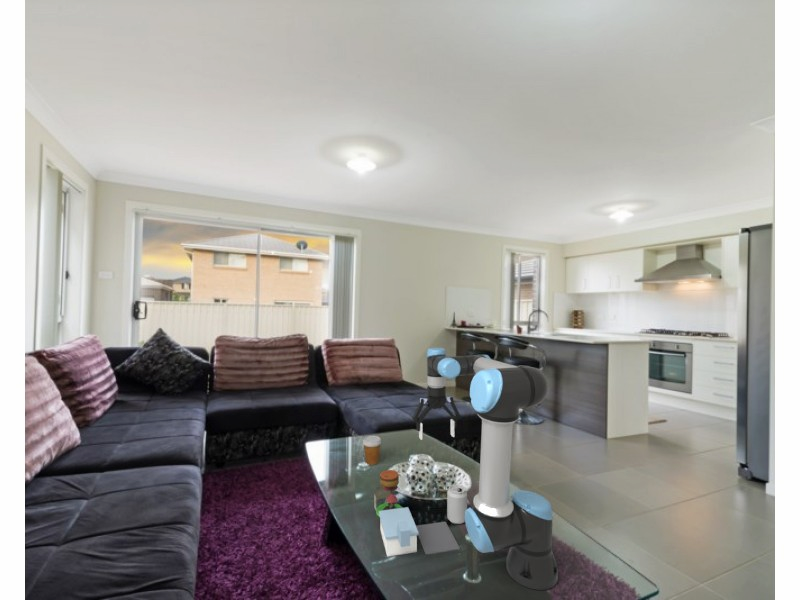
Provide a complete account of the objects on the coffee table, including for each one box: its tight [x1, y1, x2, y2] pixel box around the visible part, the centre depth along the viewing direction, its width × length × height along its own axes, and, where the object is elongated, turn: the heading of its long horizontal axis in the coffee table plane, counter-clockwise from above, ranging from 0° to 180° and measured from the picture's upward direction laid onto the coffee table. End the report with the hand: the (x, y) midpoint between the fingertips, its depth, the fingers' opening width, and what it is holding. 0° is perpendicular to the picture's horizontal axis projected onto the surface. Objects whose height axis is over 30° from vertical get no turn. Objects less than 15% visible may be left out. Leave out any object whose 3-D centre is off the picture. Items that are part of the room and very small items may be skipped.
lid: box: [378, 506, 419, 547], centre depth 129 cm, size 20×11×5 cm, turn 12°
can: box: [446, 484, 468, 525], centre depth 144 cm, size 8×8×12 cm
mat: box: [416, 521, 461, 556], centre depth 133 cm, size 15×12×1 cm
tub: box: [379, 520, 418, 558], centre depth 132 cm, size 14×10×6 cm
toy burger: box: [373, 469, 403, 518], centre depth 149 cm, size 12×13×15 cm
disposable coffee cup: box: [362, 435, 382, 466], centre depth 191 cm, size 10×10×12 cm
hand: (436, 437), depth 156 cm, fingers open, 13 cm apart
